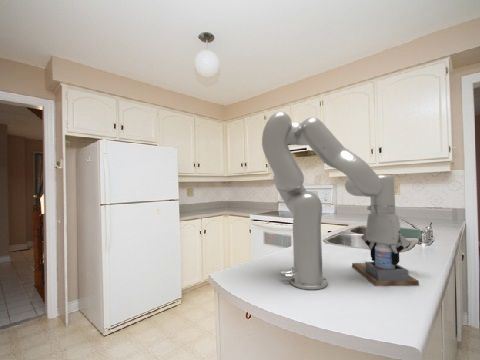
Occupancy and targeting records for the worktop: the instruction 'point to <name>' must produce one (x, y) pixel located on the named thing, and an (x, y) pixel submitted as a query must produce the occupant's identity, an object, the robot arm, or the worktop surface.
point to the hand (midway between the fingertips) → (384, 261)
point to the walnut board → (362, 270)
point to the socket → (387, 273)
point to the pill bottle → (383, 256)
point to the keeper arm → (410, 232)
